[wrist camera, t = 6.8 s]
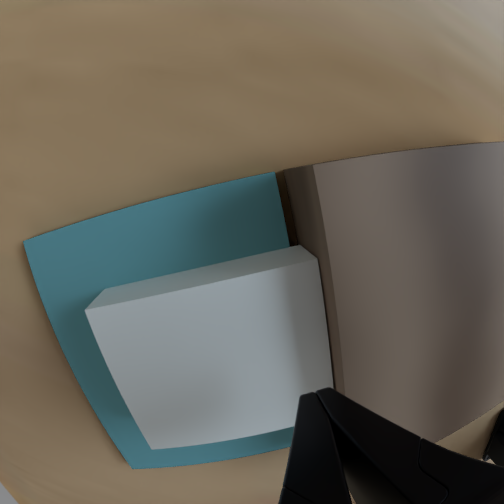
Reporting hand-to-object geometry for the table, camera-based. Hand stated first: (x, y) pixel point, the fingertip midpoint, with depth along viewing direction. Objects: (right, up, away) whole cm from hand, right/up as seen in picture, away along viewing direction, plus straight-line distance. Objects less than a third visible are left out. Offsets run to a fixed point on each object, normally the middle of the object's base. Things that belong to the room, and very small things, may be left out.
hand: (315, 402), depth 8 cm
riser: (+6, +2, +5) cm, 8 cm away
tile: (-3, +1, +3) cm, 5 cm away
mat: (-4, 0, +4) cm, 6 cm away
